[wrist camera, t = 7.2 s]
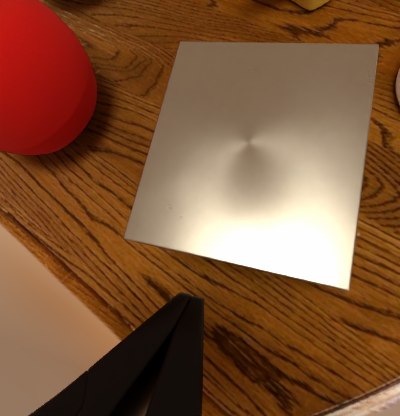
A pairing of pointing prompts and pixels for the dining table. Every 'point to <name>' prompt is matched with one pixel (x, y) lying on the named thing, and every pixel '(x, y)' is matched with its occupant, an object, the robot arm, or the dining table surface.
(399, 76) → the cream thick disc
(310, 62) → the bin lid
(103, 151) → the dining table surface
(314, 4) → the teapot
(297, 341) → the dining table surface
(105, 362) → the robot arm
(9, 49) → the tomato
